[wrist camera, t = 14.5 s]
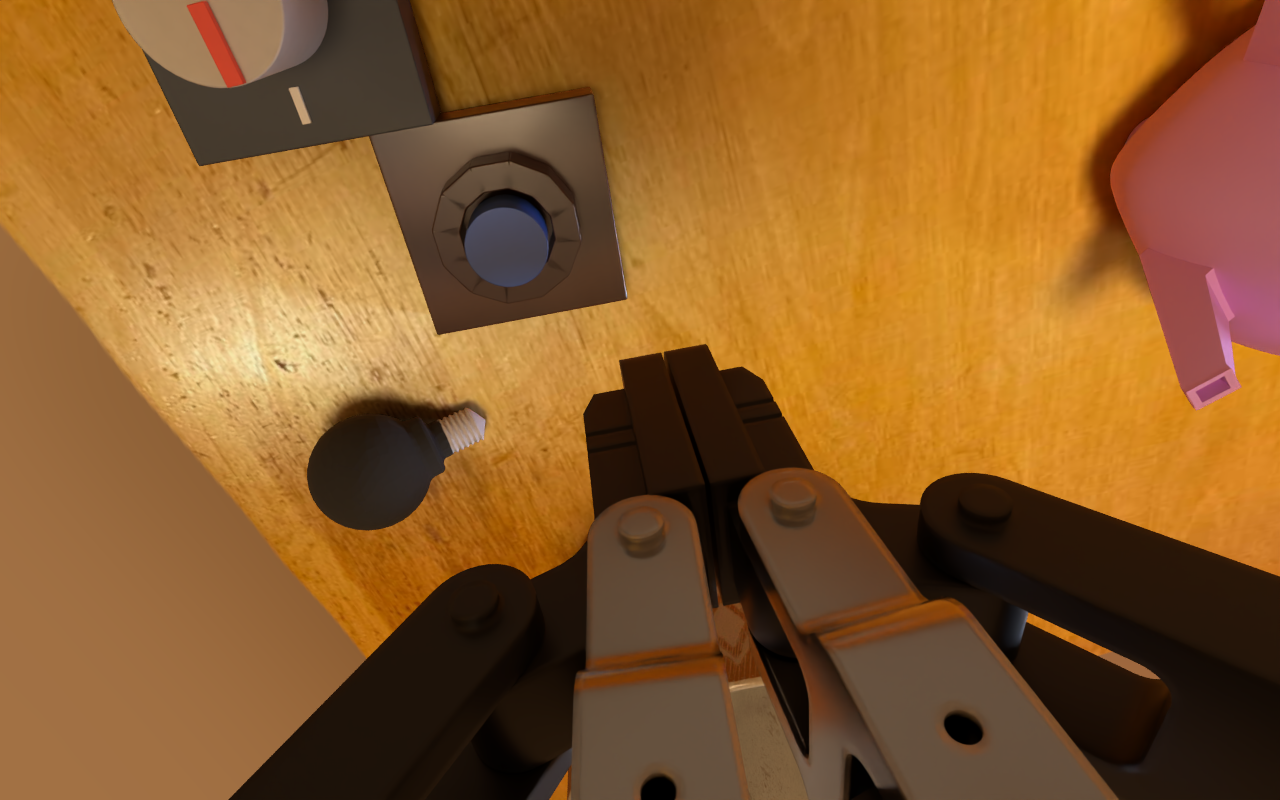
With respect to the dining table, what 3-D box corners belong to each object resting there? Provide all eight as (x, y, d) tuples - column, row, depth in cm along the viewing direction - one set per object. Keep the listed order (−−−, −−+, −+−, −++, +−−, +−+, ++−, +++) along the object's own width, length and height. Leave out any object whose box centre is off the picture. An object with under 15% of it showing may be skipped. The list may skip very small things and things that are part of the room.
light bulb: (519, 482, 38) (342, 571, 35) (493, 450, 44) (340, 524, 41) (474, 380, 36) (280, 465, 33) (453, 360, 41) (287, 431, 38)
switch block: (377, 124, 31) (358, 142, 28) (590, 86, 32) (596, 99, 28) (442, 317, 37) (432, 351, 33) (623, 283, 37) (632, 314, 34)
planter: (866, 484, 47) (1003, 695, 33) (758, 662, 56) (831, 886, 43) (601, 434, 42) (634, 658, 28) (530, 639, 51) (528, 884, 37)
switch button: (458, 201, 30) (453, 215, 28) (538, 187, 30) (538, 200, 29) (480, 276, 32) (476, 294, 30) (555, 263, 32) (556, 279, 30)
